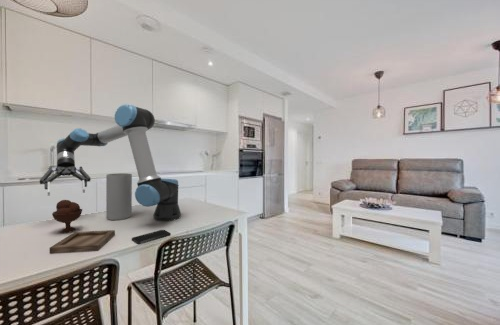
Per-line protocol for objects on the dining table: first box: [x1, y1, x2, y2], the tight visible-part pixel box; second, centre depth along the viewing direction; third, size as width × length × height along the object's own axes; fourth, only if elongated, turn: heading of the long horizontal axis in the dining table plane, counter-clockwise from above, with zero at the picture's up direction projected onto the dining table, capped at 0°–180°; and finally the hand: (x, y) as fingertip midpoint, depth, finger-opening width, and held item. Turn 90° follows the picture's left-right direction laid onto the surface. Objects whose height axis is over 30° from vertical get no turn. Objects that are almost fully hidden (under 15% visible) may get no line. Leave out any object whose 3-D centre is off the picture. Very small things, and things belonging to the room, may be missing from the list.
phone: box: [131, 229, 171, 245], centre depth 97 cm, size 8×1×15 cm
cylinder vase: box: [105, 172, 133, 221], centre depth 123 cm, size 12×12×25 cm
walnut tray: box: [49, 229, 116, 255], centre depth 89 cm, size 16×16×2 cm
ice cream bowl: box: [51, 199, 83, 234], centre depth 101 cm, size 11×11×15 cm
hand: (67, 192), depth 108 cm, fingers open, 13 cm apart
